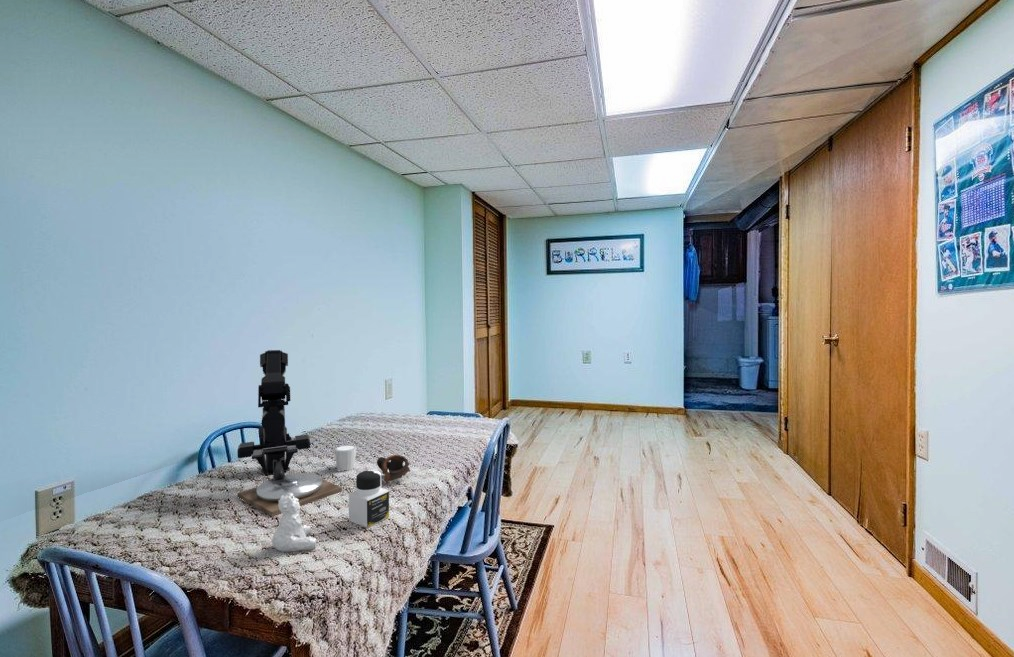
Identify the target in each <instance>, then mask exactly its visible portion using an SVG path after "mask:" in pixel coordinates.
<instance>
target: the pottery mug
mask: <svg viewBox="0 0 1014 657" xmlns="http://www.w3.org/2000/svg"><path fill="white" fill-rule="evenodd" d="M376 465H377V467H378V468H379V469H380V470H381V472H382V473H381V474H382V475H384V478H383V481H384V483H386V484H389V483H390V482H391V481H395V480H398V479H401V478H403V476H404V477H405V476H406V474H407V473H408V472H411V470H410V467H409V466H410V465H411V463H410V462H409V461H408V459H407V457H406V456H403V455H400V454H393V455H390V456H388V457H384V456H380V457H379V458H378V459H377V461H376Z"/></svg>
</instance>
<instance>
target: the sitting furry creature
mask: <svg viewBox="0 0 1014 657" xmlns="http://www.w3.org/2000/svg"><path fill="white" fill-rule="evenodd" d="M298 501H299V499H297V498H295V497H294V495H293V493H287V494H286V495H285V496H283V495H282V496H281V498H280V500H279V501H278V502H279V504H278V507H279V509H280V511H281V512H282V513H281V514H282V516H281V517H280V520H279V523H278V527H277V529H275V532H274V533H273V536H272V539H271V546H272V547H273V549H274V550H277V551H279V552H282V553H288V552H298V551H299V552H302V551H311V550H315V549H316V548H317V538H315V537H312V536H311V535H310V534H311V532H312V529H311V526H310V525H306V524H304V525H303V524H302V523H303V520H302V519H301V518H302V517H301V516H300V512H299V510H300V509H301V507H302V506H300V504H299V502H298ZM308 535H309V536H308Z"/></svg>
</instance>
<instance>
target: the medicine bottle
mask: <svg viewBox="0 0 1014 657" xmlns="http://www.w3.org/2000/svg"><path fill="white" fill-rule="evenodd" d="M355 481H356V482H355V483H356V484H355V485H356V488H355V490H354V491H351V492H349V493H348V521H349V522H351V523H354V524H356V525H359V526H362V527H364V528H366V529H369V528H370V527H372V526H375V525H377V524H378V523H380V522H382V521H384V520H386V519H388V518H389V517H390V490H389V489H386V488H383V487H382V473H381V472H380V471H379V470H376V469H367V470H363V471H361V472H359V473H358V474H357V475H356V479H355Z"/></svg>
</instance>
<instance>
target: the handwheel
mask: <svg viewBox="0 0 1014 657" xmlns="http://www.w3.org/2000/svg"><path fill="white" fill-rule="evenodd" d="M272 476H273V477H272V478H270V479H268V480H266V481H263V482H262V483H260V484H259V485H258V486H256V487H257V489H256V493H257V497H258V498H259V499H261V500H263V501H269V502H278V501H279V500H280V498H281V496H282V495H283V496H285V495H286V494H287V493H293V495H294V497H295V498H297V499H300V498H303V497H306V496H309V495H311V494H313V493H315V492H317V491H318V490H320V489H321V487H322V479H323V478H322V477H321V476H320V474H319V475H318V474H316V473H308V472H301V473H300V472H299V473H298V472H297V473H289V474H286V473H285V459H283V458H279V459H275V460H273V474H272Z"/></svg>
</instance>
